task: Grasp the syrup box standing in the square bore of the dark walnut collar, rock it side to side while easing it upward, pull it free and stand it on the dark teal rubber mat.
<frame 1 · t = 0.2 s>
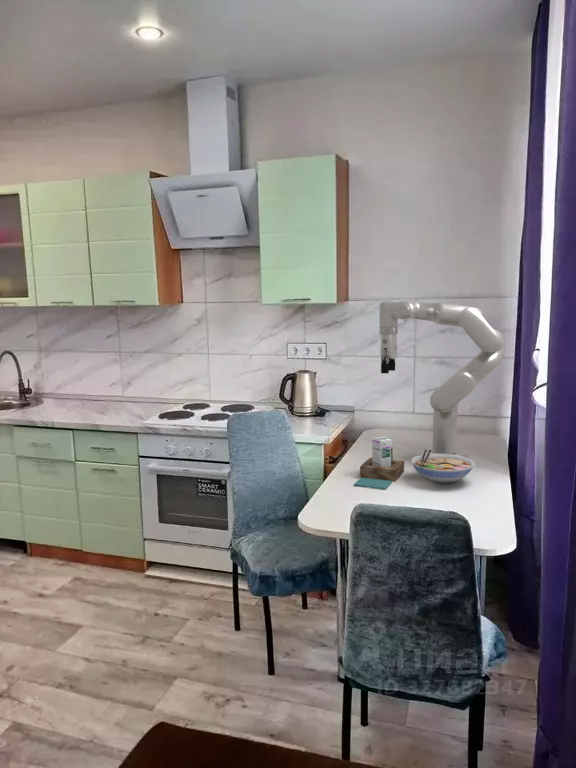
hand: (388, 371, 253), 37 cm above the table, tool pointing down, fingers open, 9 cm apart
ramen bowl: (442, 481, 223), on the table
teal mat: (373, 484, 220), on the table
syrup box: (382, 475, 232), resting in walnut collar
walnut collar: (382, 474, 231), on the table
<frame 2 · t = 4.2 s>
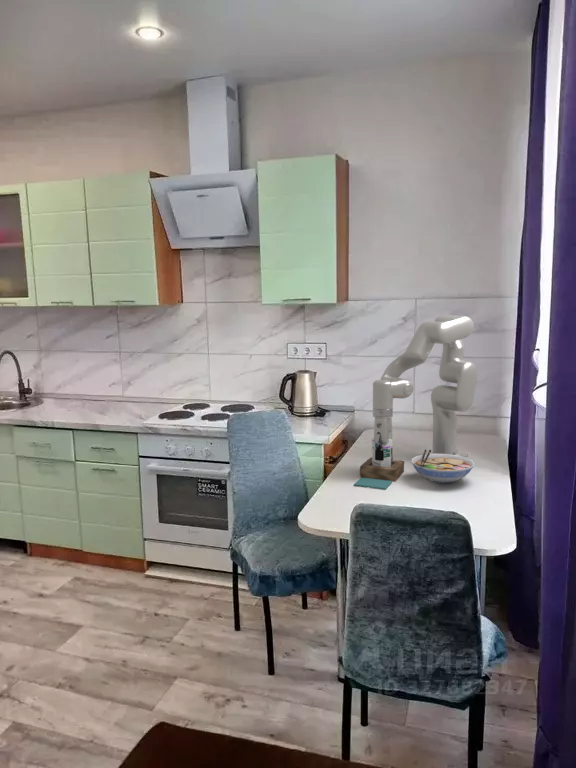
hand: (382, 457, 230), 7 cm above the table, tool pointing down, fingers closed on syrup box, 7 cm apart
syrup box: (382, 475, 232), resting in walnut collar, touching gripper
everything else where it was.
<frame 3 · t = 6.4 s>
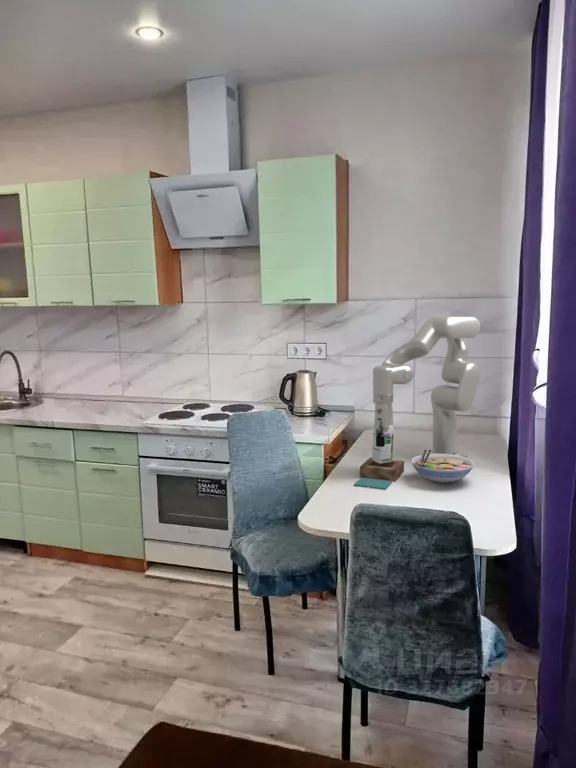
hand: (383, 443, 230), 12 cm above the table, tool pointing down, fingers closed on syrup box, 7 cm apart
syrup box: (381, 461, 231), point 5 cm above the table, touching gripper
everything else where it was.
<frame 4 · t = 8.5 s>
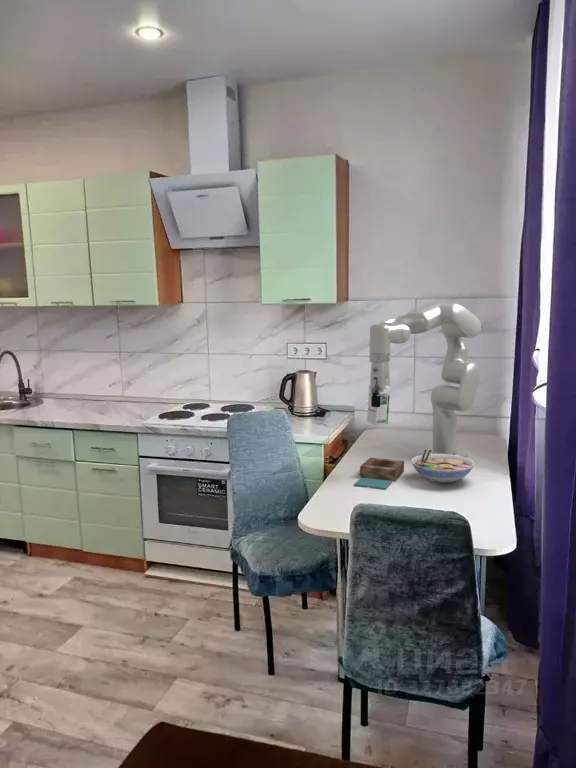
hand: (379, 404, 223), 28 cm above the table, tool pointing down, fingers closed on syrup box, 7 cm apart
syrup box: (377, 423, 225), point 21 cm above the table, touching gripper
everything else where it was.
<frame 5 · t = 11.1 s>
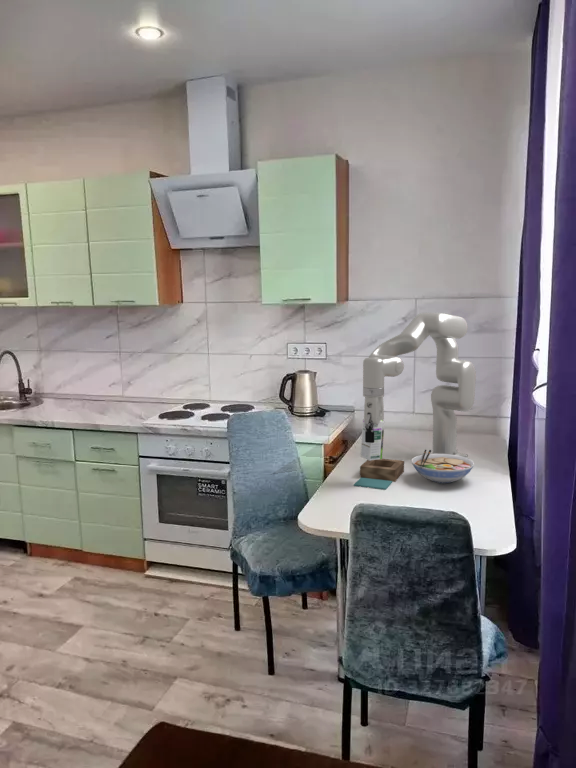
hand: (373, 439, 218), 17 cm above the table, tool pointing down, fingers closed on syrup box, 7 cm apart
syrup box: (371, 458, 219), point 10 cm above the table, touching gripper
everything else where it was.
when the fingers open (9 cm above the table, at t = 13.3 s): syrup box drops 1 cm, resting on teal mat.
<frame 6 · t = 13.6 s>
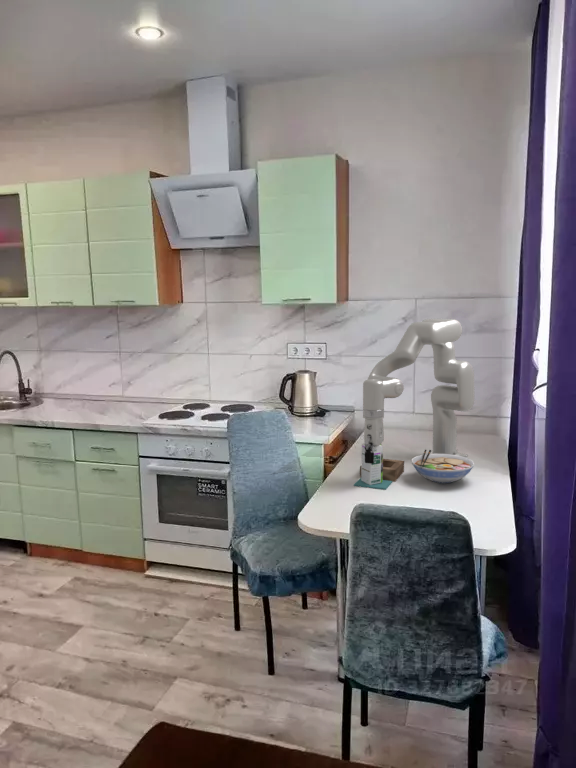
hand: (373, 459, 219), 9 cm above the table, tool pointing down, fingers open, 9 cm apart
syrup box: (371, 482, 221), point 1 cm above the table, touching teal mat
everything else where it was.
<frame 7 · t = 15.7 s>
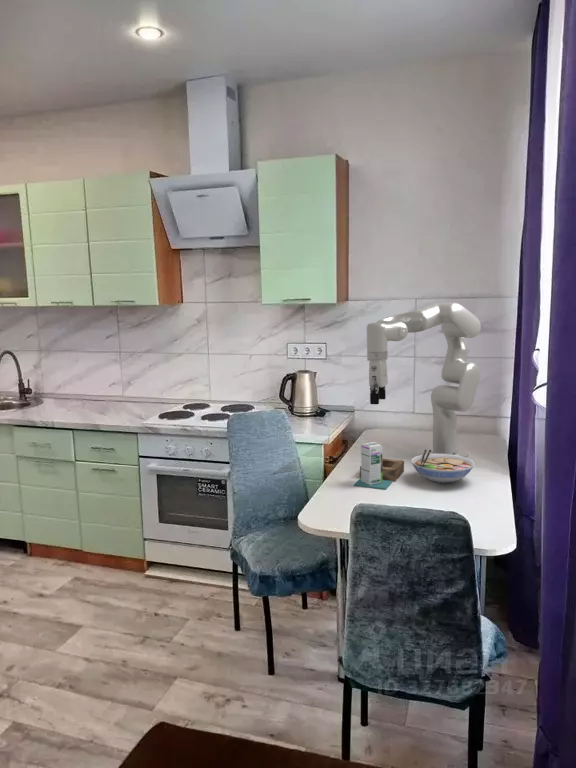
hand: (378, 401, 225), 29 cm above the table, tool pointing down, fingers open, 9 cm apart
nothing on the table moved.
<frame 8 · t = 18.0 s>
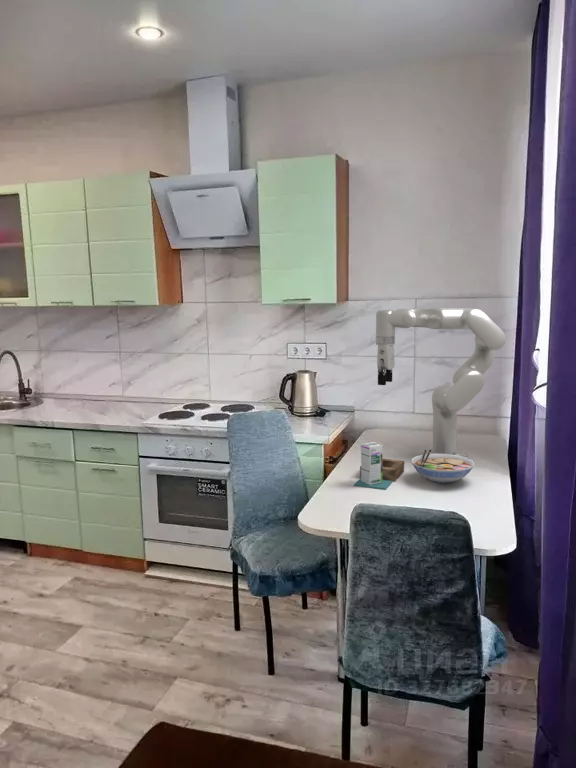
hand: (385, 383, 242), 33 cm above the table, tool pointing down, fingers open, 9 cm apart
nothing on the table moved.
at the end: syrup box 0.7 cm off-centre on the teal mat, point 0.4 cm above the teal mat's base; syrup box tilted 0°; syrup box touching teal mat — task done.
